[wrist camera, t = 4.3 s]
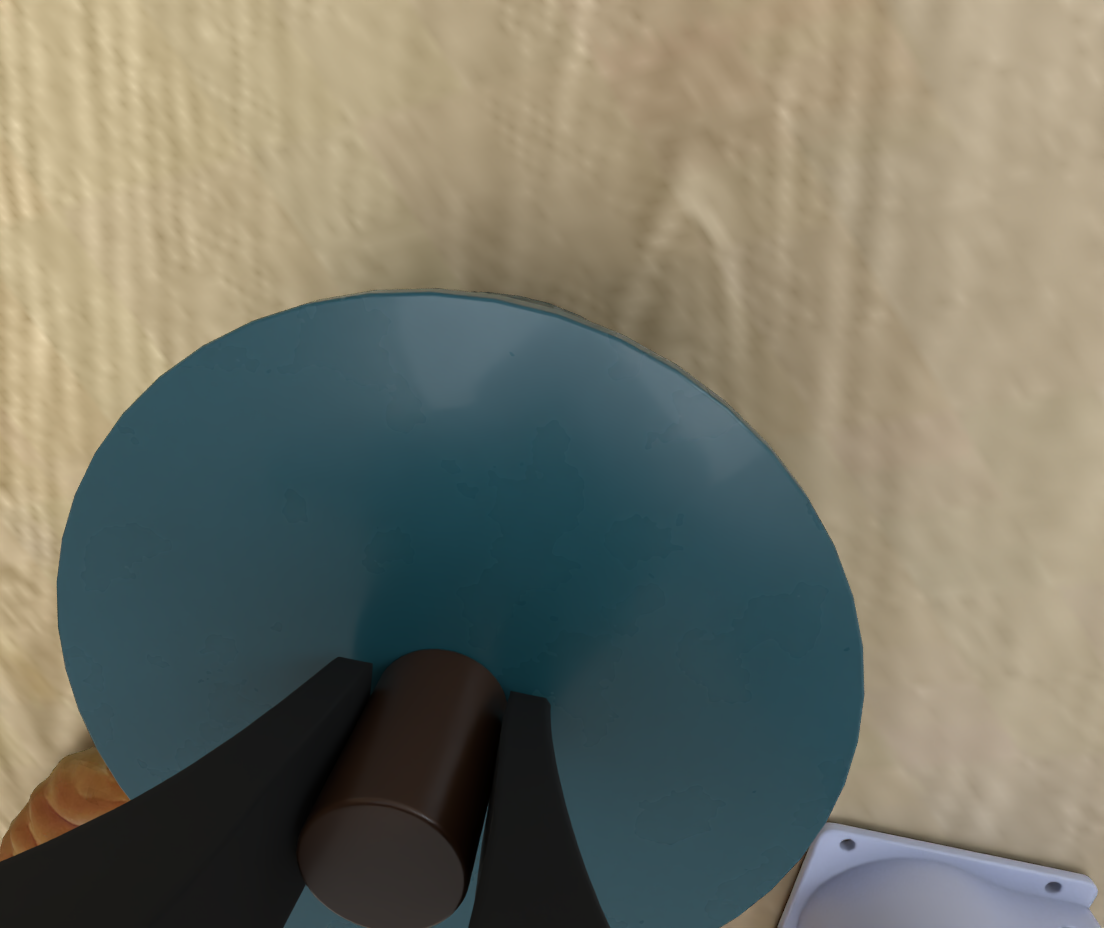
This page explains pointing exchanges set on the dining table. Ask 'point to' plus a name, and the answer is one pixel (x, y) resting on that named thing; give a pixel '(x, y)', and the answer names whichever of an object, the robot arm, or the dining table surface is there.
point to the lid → (471, 600)
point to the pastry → (64, 802)
